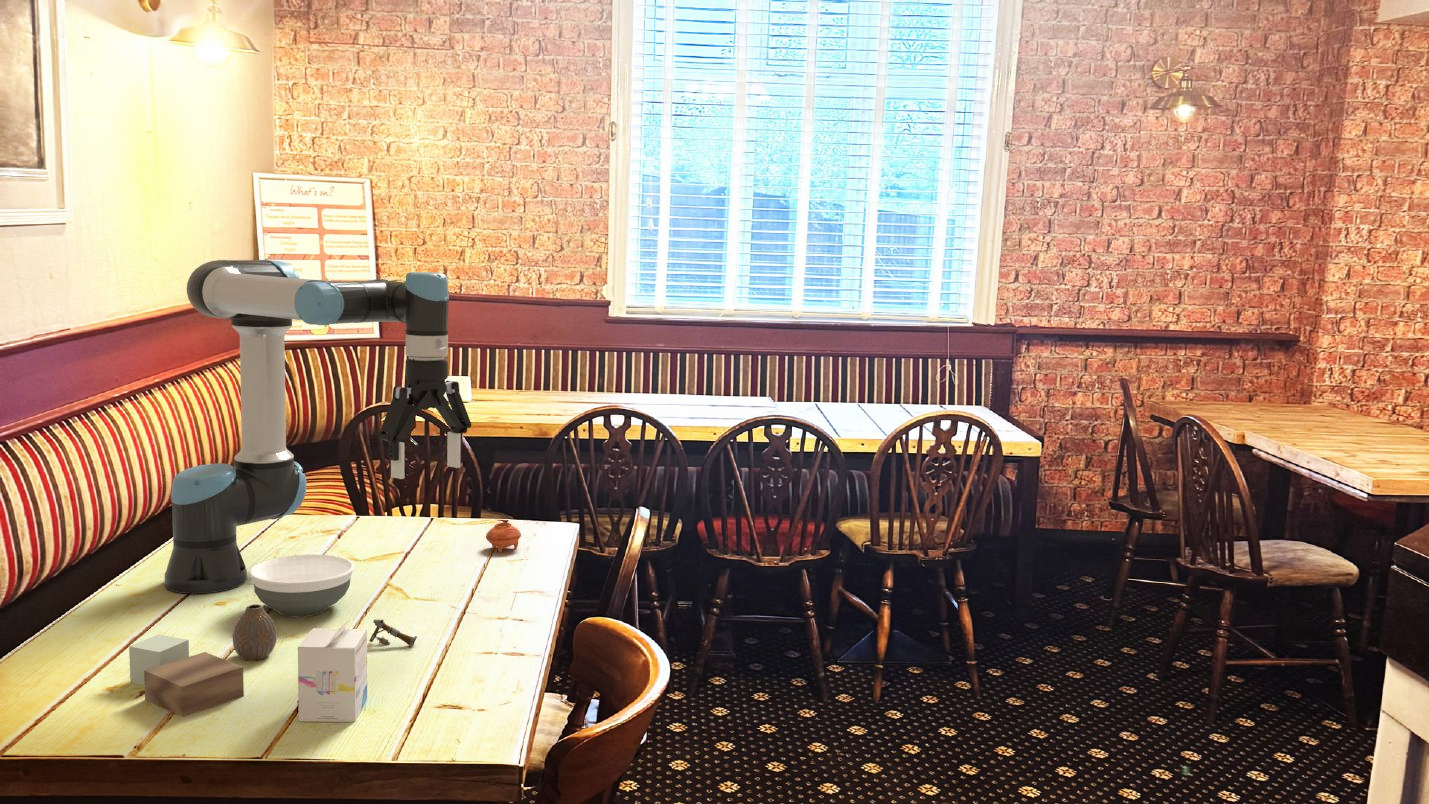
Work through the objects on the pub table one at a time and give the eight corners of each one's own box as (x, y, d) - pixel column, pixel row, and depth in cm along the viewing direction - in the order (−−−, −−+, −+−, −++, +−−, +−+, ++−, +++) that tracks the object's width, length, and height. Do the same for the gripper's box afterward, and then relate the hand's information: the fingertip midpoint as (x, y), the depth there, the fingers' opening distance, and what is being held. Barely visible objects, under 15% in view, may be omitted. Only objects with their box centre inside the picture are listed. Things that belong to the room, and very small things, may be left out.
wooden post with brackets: (367, 636, 202) (377, 614, 201) (407, 656, 201) (417, 635, 201) (363, 640, 200) (373, 618, 199) (404, 660, 200) (414, 638, 199)
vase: (261, 666, 189) (260, 615, 187) (224, 661, 190) (223, 610, 189) (285, 651, 195) (284, 602, 194) (248, 647, 197) (247, 598, 195)
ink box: (312, 699, 176) (311, 615, 174) (368, 699, 177) (367, 616, 175) (297, 722, 168) (296, 635, 166) (355, 722, 169) (355, 636, 167)
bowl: (255, 631, 204) (254, 587, 203) (245, 600, 221) (244, 559, 219) (363, 619, 213) (362, 576, 212) (345, 590, 229) (344, 550, 228)
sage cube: (130, 682, 180) (129, 646, 179) (159, 669, 186) (158, 634, 185) (160, 688, 178) (159, 652, 177) (189, 675, 184) (188, 639, 183)
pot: (520, 553, 259) (514, 525, 258) (487, 560, 259) (480, 532, 258) (526, 543, 267) (520, 515, 266) (494, 549, 267) (487, 522, 266)
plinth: (145, 701, 174) (144, 670, 173) (205, 681, 182) (205, 651, 181) (183, 719, 168) (182, 686, 167) (243, 697, 176) (243, 667, 176)
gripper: (386, 364, 195) (386, 485, 198) (490, 355, 216) (489, 465, 219) (357, 360, 199) (358, 479, 202) (462, 351, 220) (461, 459, 223)
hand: (426, 472), depth 211 cm, fingers open, 13 cm apart
